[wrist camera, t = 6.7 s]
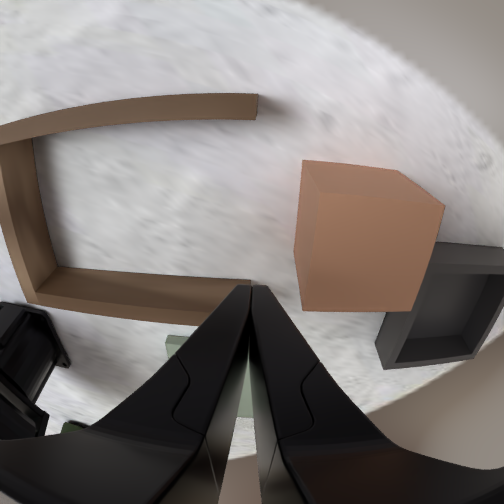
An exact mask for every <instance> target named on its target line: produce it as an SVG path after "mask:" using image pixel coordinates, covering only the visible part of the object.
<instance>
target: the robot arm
mask: <svg viewBox="0 0 504 504" xmlns="http://www.w3.org/2000/svg"><path fill="white" fill-rule="evenodd" d="M248 355H249V372H250V384H251V395H252V407H253V418H254V429H255V440H256V450H257V461H258V470H259V481H260V491H261V498H262V500H261V502H262V504H504V467H501V468H498V469H491V470H481V469H475V468H470V467H465V466H461V465H457V464H453V463H449V462H446V461H442V460H438V459H435V458H431V457H428V456H425V455H421V454H418V453H415V452H412V451H409V450H406V449H404V448H402V447H400V446H398V445H396V444H395V443H393V442H392V441H391V440H390V439H388V438H387V437H386V436H385V435H384V434H383V433H382V432H381V431H380V430H379V429H378V428H377V427H376V426H375V425H374V424H373V423H372V422H371V421H370V420H369V418H368V417H367V416H366V415H365V414H364V413H363V412H362V411H361V410H360V409H359V408H358V407H357V406H356V405H355V404H354V403H353V402H352V400H351V399H350V398H349V397H348V396H347V395H346V394H345V393H344V391H343V390H342V389H341V388H340V387H339V386H338V384H337V383H336V382H335V380H334V379H333V378H332V377H331V375H330V374H329V373H328V371H327V370H326V368H325V367H324V365H323V364H322V363H321V362H320V360H319V359H318V357H317V356H316V354H315V353H314V351H313V350H312V349H311V347H310V346H309V344H308V343H307V342H306V340H305V339H304V337H303V336H302V334H301V333H300V332H299V330H298V329H297V327H296V326H295V324H294V323H293V322H292V320H291V319H290V317H289V316H288V314H287V313H286V312H285V310H284V309H283V307H282V306H281V304H280V303H279V302H278V300H277V299H276V297H275V296H274V294H273V293H272V292H271V290H270V289H269V287H268V286H266V285H253V286H251V285H248V284H237V285H236V286H235V287H234V288H233V289H232V290H231V292H230V293H229V294H228V295H227V296H226V297H225V298H224V299H223V300H222V302H221V303H220V304H219V305H218V306H217V307H216V308H215V309H214V310H213V311H212V313H211V314H210V315H209V316H208V317H207V318H206V319H205V320H204V321H203V323H202V324H201V325H200V326H199V327H198V328H197V329H196V330H195V331H194V332H193V334H192V335H191V336H190V337H189V338H188V339H187V340H186V341H185V342H184V343H183V344H182V346H181V347H180V348H179V349H178V350H177V351H176V352H175V354H173V355H172V356H171V357H170V358H169V360H168V361H167V362H166V363H165V364H164V365H163V366H162V367H161V368H160V369H159V370H158V371H157V372H156V373H155V374H154V375H153V376H152V377H151V378H150V379H149V380H147V381H146V382H145V383H144V384H143V385H142V386H141V387H140V388H138V389H137V390H136V391H135V392H134V393H132V394H131V395H130V396H129V397H128V398H126V399H125V400H124V401H123V402H121V403H120V404H119V405H118V406H117V407H115V408H114V409H113V410H112V411H110V412H109V413H108V414H107V415H105V416H104V417H103V418H101V419H100V420H99V421H97V422H96V423H94V424H92V425H90V426H88V427H86V428H84V429H81V430H77V431H72V432H66V433H60V434H54V435H48V436H44V435H45V431H46V427H47V423H48V420H49V416H50V415H49V414H48V413H47V412H45V411H43V410H41V409H40V408H39V407H38V406H37V405H35V403H36V401H37V399H38V397H39V395H40V393H41V391H42V390H43V388H44V386H45V384H46V382H47V380H48V378H49V377H50V375H51V373H52V371H53V369H54V367H55V366H60V367H64V368H69V367H70V365H71V363H70V361H69V359H68V357H67V355H66V353H65V351H64V349H63V347H62V345H61V343H60V340H59V338H58V336H57V334H56V332H55V330H54V328H53V325H52V323H51V321H50V318H49V316H48V315H47V314H46V313H45V312H44V311H41V310H36V309H31V308H26V307H22V306H17V305H13V304H8V303H4V302H0V504H218V501H219V495H220V492H221V487H222V483H223V478H224V474H225V469H226V464H227V460H228V455H229V451H230V446H231V441H232V437H233V432H234V427H235V422H236V418H237V413H238V408H239V403H240V398H241V394H242V389H243V384H244V379H245V374H246V369H247V363H248Z"/></svg>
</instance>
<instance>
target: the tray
mask: <svg viewBox="0 0 504 504" xmlns="http://www.w3.org/2000/svg"><path fill="white" fill-rule="evenodd" d="M503 307H504V249H503V248H501V247H491V246H480V245H468V244H457V243H444V242H435V244H434V248H433V251H432V254H431V257H430V260H429V263H428V266H427V269H426V272H425V275H424V278H423V281H422V283H421V286H420V289H419V291H418V294H417V297H416V299H415V302H414V304H413V307H412V309H411V311H399V312H386V315H385V318H384V320H383V323H382V326H381V328H380V331H379V334H378V336H377V339H376V341H375V346H376V349H377V352H378V355H379V358H380V361H381V364H382V367H383V370H388V369H399V368H410V367H419V366H428V365H435V364H443V363H450V362H456V361H463V360H469V359H474V357H475V355H476V354H477V353H478V351H479V349H480V348H481V346H482V344H483V343H484V341H485V339H486V338H487V336H488V334H489V333H490V331H491V329H492V327H493V325H494V324H495V322H496V320H497V318H498V316H499V314H500V312H501V311H502V309H503Z"/></svg>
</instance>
